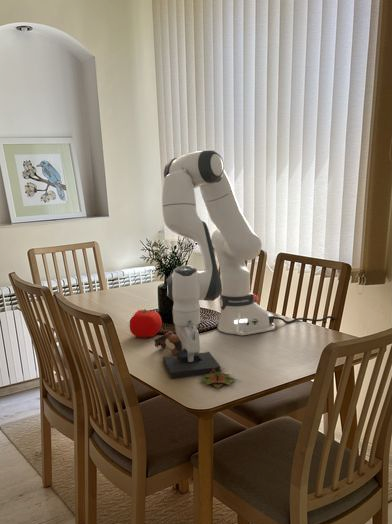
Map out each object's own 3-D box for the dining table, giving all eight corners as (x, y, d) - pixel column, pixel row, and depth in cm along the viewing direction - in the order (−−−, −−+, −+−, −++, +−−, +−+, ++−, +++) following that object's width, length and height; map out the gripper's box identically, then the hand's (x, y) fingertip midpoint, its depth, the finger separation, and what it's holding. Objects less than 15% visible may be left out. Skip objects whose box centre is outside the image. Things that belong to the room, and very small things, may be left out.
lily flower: (217, 370, 176) (217, 357, 174) (245, 381, 168) (245, 367, 166) (190, 381, 168) (189, 368, 167) (217, 393, 160) (217, 379, 159)
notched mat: (209, 357, 187) (209, 351, 187) (220, 372, 175) (220, 366, 174) (163, 362, 184) (163, 356, 183) (171, 378, 171) (171, 372, 170)
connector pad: (195, 357, 186) (194, 349, 185) (199, 363, 180) (199, 355, 179) (177, 359, 184) (177, 351, 183) (181, 365, 179) (181, 357, 178)
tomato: (126, 334, 212) (124, 308, 208) (156, 329, 217) (155, 304, 214) (136, 342, 203) (135, 316, 199) (168, 337, 208) (166, 311, 204)
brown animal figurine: (168, 360, 187) (156, 338, 187) (158, 363, 196) (147, 343, 195) (195, 344, 192) (184, 323, 192) (185, 348, 201) (174, 328, 200)
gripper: (204, 325, 168) (204, 367, 173) (189, 308, 187) (190, 346, 192) (184, 327, 167) (185, 369, 172) (171, 309, 185) (172, 347, 190)
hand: (187, 357), depth 182 cm, fingers closed on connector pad, 6 cm apart
